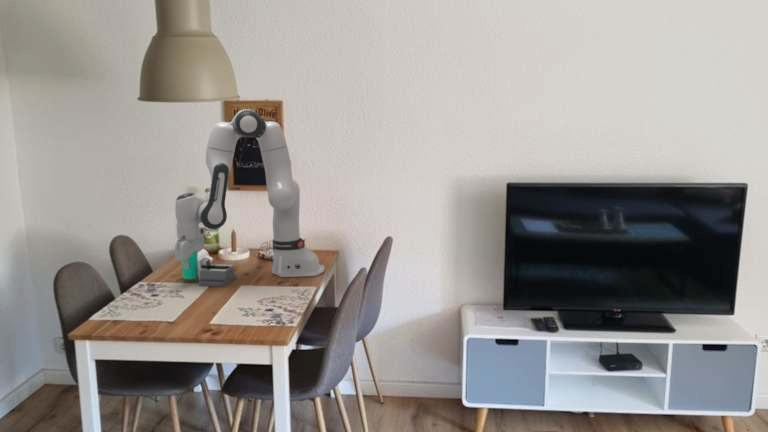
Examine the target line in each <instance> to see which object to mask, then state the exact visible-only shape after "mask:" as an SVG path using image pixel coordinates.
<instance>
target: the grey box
mask: <svg viewBox="0 0 768 432" xmlns="http://www.w3.org/2000/svg"><path fill="white" fill-rule="evenodd" d="M210 267H211V269H208V268H207V266H206V268H204V269H200V271H199V272H200V279H199V280H198V286H199V287H215V288H217V287H218V288H222V287H223V288H225V287H227V286H228V285H229V284H230V283H231V282H233V281H234V280H235V279H237V278H236V277H237V276H236V272H235V267H234V264H224V263H223V264H221V263H220V264H219V263H210Z"/></svg>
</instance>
